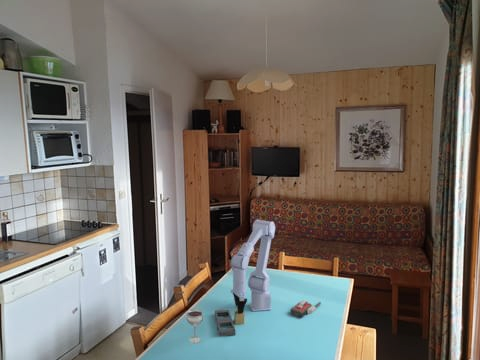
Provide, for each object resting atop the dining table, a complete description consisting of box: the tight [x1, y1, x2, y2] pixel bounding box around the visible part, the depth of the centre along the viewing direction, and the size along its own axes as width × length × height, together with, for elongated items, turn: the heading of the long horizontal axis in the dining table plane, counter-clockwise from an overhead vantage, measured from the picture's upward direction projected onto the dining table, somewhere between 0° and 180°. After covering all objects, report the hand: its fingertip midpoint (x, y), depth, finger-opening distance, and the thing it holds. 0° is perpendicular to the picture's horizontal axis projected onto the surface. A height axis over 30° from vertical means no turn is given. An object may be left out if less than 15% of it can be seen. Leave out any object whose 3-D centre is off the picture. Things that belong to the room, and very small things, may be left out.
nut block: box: [233, 309, 245, 325], centre depth 174 cm, size 4×4×5 cm
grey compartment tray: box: [214, 309, 236, 337], centre depth 172 cm, size 7×20×2 cm, turn 10°
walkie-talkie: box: [290, 300, 322, 318], centre depth 187 cm, size 9×4×20 cm
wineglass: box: [186, 308, 204, 344], centre depth 158 cm, size 7×7×12 cm
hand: (239, 309), depth 174 cm, fingers open, 7 cm apart
